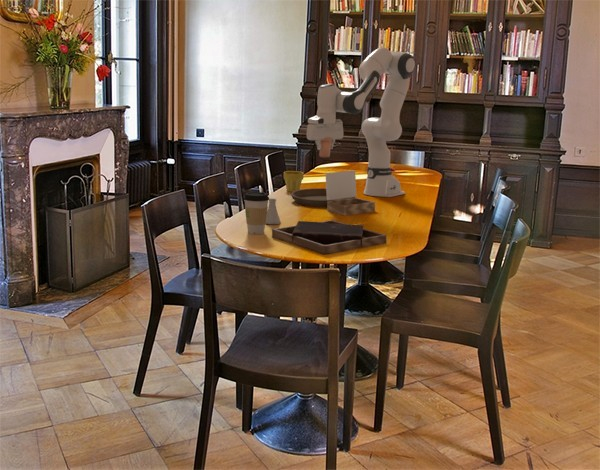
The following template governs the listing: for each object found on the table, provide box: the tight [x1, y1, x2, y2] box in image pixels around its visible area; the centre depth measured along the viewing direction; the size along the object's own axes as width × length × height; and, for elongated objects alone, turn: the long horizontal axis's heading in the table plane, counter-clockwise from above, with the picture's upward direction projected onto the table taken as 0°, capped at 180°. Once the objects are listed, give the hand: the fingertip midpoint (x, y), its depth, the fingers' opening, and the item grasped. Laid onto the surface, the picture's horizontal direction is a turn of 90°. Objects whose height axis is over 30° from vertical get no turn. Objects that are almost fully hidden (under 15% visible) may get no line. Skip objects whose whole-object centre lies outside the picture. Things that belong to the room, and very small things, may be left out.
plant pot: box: [283, 170, 304, 193], centre depth 347 cm, size 10×10×10 cm
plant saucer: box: [290, 187, 356, 208], centre depth 320 cm, size 31×31×5 cm
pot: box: [319, 138, 332, 158], centre depth 314 cm, size 6×6×9 cm
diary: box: [292, 220, 364, 247], centre depth 247 cm, size 19×25×5 cm
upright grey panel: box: [325, 170, 358, 200], centre depth 302 cm, size 18×12×1 cm
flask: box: [265, 198, 282, 226], centre depth 271 cm, size 7×7×10 cm
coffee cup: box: [242, 191, 270, 235], centre depth 254 cm, size 10×10×15 cm
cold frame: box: [326, 197, 376, 216], centre depth 299 cm, size 18×15×12 cm
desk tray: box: [271, 219, 388, 256], centre depth 247 cm, size 30×30×3 cm
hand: (324, 149), depth 314 cm, fingers closed on pot, 5 cm apart
